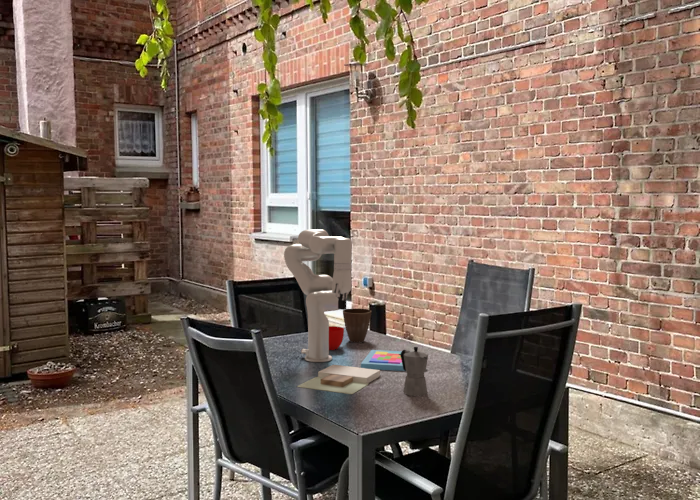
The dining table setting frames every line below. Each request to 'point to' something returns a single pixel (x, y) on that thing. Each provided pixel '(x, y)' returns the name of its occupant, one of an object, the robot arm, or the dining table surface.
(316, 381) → the mat
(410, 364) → the coffeepot
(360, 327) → the plant pot
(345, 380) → the tile
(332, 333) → the ceramic cup
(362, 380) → the board
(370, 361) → the tetris game
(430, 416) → the dining table surface
